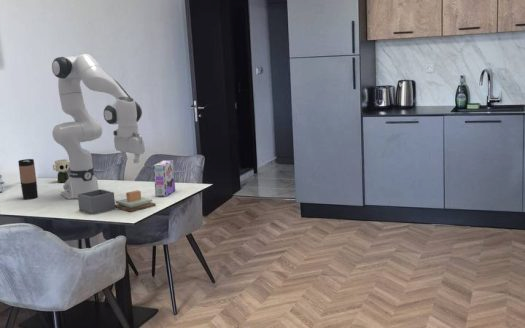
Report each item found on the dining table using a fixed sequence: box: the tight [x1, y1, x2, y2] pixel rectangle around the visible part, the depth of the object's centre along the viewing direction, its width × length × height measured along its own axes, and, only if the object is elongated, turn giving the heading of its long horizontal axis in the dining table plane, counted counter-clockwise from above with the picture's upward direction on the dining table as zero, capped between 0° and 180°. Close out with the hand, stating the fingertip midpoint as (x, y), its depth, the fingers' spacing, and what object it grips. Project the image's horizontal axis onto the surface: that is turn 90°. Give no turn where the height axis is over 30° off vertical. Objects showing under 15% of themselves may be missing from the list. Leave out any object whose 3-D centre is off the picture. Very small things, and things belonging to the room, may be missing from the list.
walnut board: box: [115, 201, 157, 213], centre depth 270 cm, size 14×14×1 cm
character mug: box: [52, 158, 70, 183], centre depth 334 cm, size 11×7×13 cm, turn 137°
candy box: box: [153, 160, 176, 198], centre depth 293 cm, size 14×6×16 cm, turn 168°
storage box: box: [77, 189, 116, 216], centre depth 266 cm, size 12×12×8 cm
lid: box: [115, 190, 153, 208], centre depth 269 cm, size 12×12×6 cm
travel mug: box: [17, 158, 39, 200], centre depth 296 cm, size 8×8×20 cm
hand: (130, 161), depth 266 cm, fingers open, 8 cm apart
